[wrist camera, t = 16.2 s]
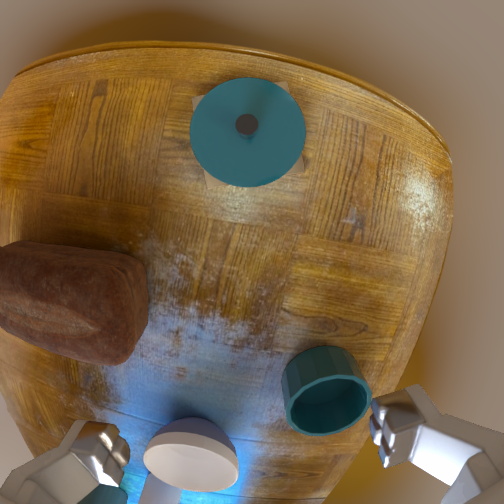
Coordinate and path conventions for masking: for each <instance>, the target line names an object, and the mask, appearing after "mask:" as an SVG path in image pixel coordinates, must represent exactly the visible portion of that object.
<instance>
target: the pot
mask: <svg viewBox="0 0 504 504" xmlns="http://www.w3.org/2000/svg"><path fill="white" fill-rule="evenodd" d="M281 383H282V391H283V399H284V406H285V414H286V420H287V423H288V424H289V425H290V426H291V427H292V428H293V429H294V430H295V431H297V432H300V433H302V434H305V435H308V436H326V435H330V434H335V433H339V432H341V431H343V430H345V429H347V428H349V427H351V426H353V425H354V424H355V423H356V422H357V421H359V420H360V419H361V418H362V417H363V416H364V415H365V413H366V412H367V410H368V408H369V406H370V405H371V397H372V391H371V389H370V387H369V385H368V383H367V381H366V379H365V378H364V376H363V374H362V372H361V370H360V368H359V366H358V364H357V362H356V361H355V359H354V357H353V356H352V355H351V354H350V353H349V352H348V351H346V350H344V349H342V348H339V347H335V346H320V347H315V348H312V349H309V350H307V351H304V352H302V353H301V354H299V355H298V356H296V357H295V358H294V359H293V360H292V361H291V362H290V363H289V364H288V365H287V367H286V368H285V370H284V373H283V376H282V381H281Z"/></svg>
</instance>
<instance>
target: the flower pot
mask: <svg viewBox="0 0 504 504" xmlns="http://www.w3.org/2000/svg"><path fill="white" fill-rule="evenodd" d="M127 499H128V496H127V494H126V493H125V492H124V491H123V490H121V489H120V488H118V487H115V486H111V485H106V484H101V483H99V485H98V486H97V487H96V488H95V489H93V490H92V491H91V492H90V493H89V494H88V495H86V496H85V497H84V498H83V499H82V500H81V501H79V502H78V503H77V504H127Z"/></svg>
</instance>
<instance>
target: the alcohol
mask: <svg viewBox="0 0 504 504" xmlns="http://www.w3.org/2000/svg"><path fill="white" fill-rule="evenodd" d="M181 493H182V489H181V488H177V487H175V486H172V485H169V484H167V483H165V482H163V481H162V480H160V479H158V478H157V477H156V476H154V475H153V474H152V473H150V474H149V475H147V478H146V481H145V484H144V487H143V490H142V493H141V497H140V500H139V503H138V504H179V502H180V498H181Z"/></svg>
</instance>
